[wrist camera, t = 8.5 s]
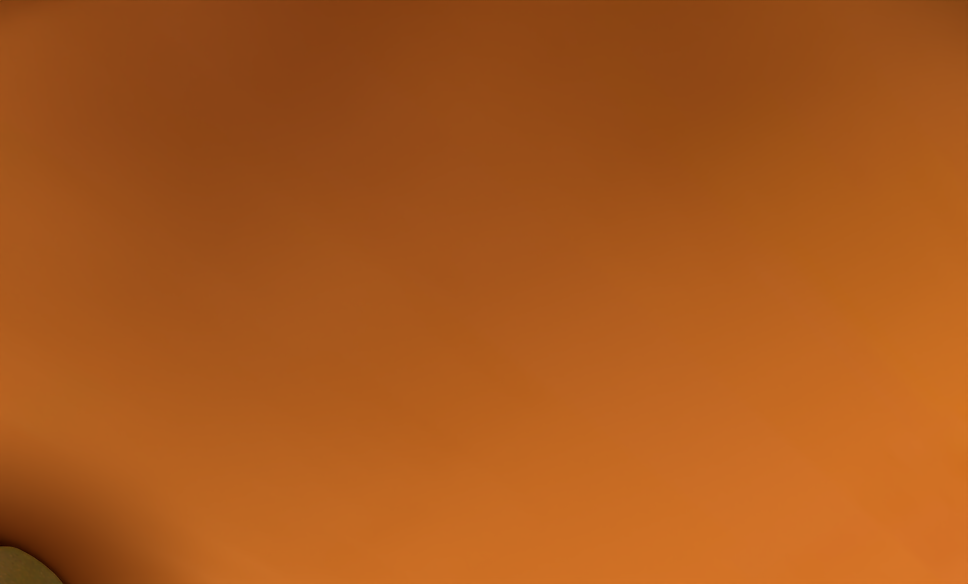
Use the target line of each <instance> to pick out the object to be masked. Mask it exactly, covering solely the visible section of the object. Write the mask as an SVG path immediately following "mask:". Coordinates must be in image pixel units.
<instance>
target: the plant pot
mask: <svg viewBox="0 0 968 584" xmlns="http://www.w3.org/2000/svg"><path fill="white" fill-rule="evenodd" d="M0 584H63V583H62V582H61V581H60V579H59V578H58V577H57V576H56V575H55V574H54V573H53V572H52V571H51V570H50V569H49V568H48V567H46V566H45V565H44V564H43V563H41V562H40V561H38V560H37V559H36V558H34V557H33V556H31V555H29V554H27V553H25V552H24V551H22V550H20V549H18V548H15V547H11V546H2V547H0Z"/></svg>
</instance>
